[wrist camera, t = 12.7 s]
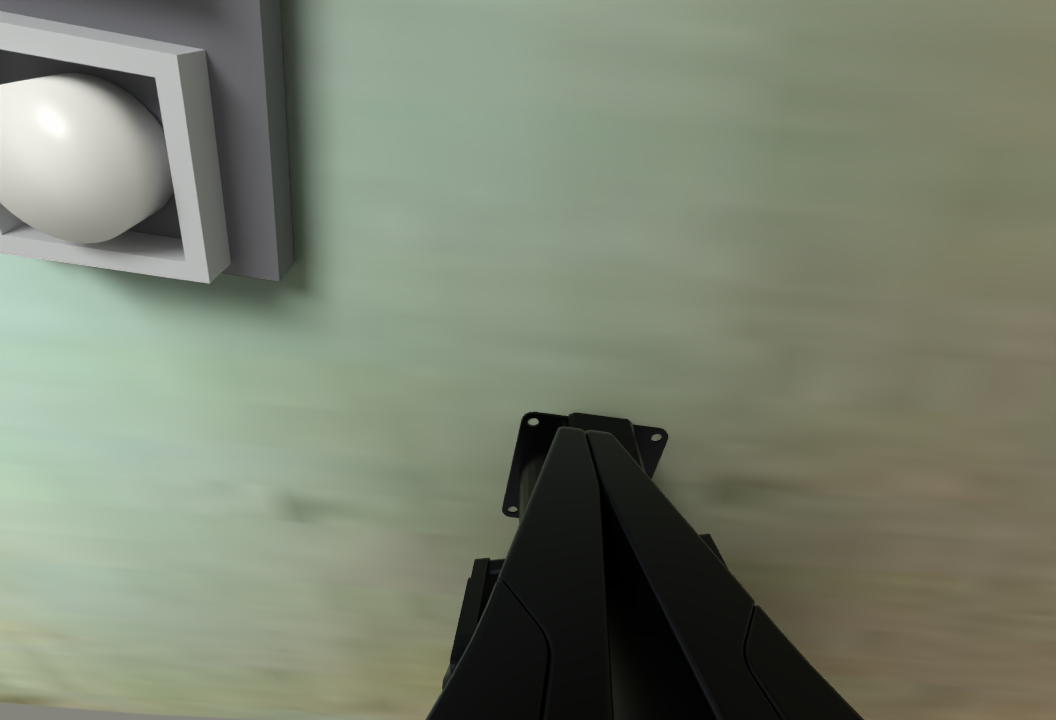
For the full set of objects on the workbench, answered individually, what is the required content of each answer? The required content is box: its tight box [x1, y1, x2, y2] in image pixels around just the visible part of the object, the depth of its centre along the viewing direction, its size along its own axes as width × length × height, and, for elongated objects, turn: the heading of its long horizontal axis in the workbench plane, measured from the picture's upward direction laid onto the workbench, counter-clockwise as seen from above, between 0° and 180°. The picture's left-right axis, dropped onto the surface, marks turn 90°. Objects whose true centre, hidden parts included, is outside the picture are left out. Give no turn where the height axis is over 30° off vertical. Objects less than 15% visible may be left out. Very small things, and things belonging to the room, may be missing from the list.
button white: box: [0, 73, 174, 243], centre depth 15 cm, size 4×4×2 cm
